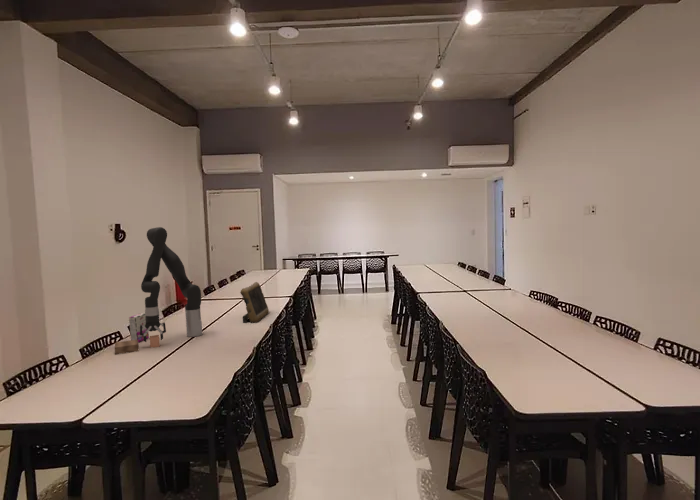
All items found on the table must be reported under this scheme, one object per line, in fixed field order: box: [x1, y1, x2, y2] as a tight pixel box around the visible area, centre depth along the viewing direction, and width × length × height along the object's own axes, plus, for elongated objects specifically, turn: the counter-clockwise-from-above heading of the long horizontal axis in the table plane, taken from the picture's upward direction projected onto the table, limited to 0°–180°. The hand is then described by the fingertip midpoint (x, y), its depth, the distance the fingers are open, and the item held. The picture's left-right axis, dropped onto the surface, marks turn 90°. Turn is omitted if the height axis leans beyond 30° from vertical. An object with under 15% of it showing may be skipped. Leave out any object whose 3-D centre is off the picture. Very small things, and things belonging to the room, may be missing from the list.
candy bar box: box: [128, 312, 150, 343], centre depth 281 cm, size 11×5×16 cm, turn 168°
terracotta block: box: [149, 334, 161, 348], centre depth 268 cm, size 5×5×6 cm
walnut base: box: [114, 339, 139, 355], centre depth 262 cm, size 12×12×4 cm
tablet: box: [239, 281, 270, 324], centre depth 333 cm, size 33×14×25 cm, turn 179°
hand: (153, 340), depth 268 cm, fingers open, 8 cm apart
